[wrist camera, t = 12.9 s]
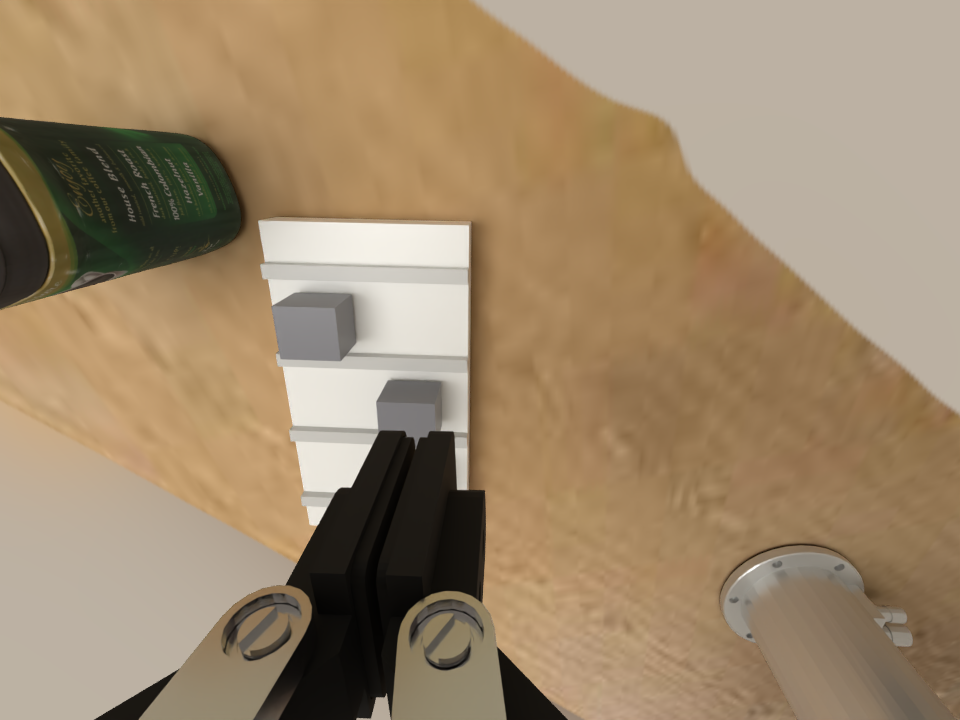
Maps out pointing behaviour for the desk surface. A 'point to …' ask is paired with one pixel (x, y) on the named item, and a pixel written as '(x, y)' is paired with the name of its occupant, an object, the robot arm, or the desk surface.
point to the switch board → (373, 334)
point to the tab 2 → (410, 408)
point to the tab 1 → (314, 326)
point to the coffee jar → (103, 205)
